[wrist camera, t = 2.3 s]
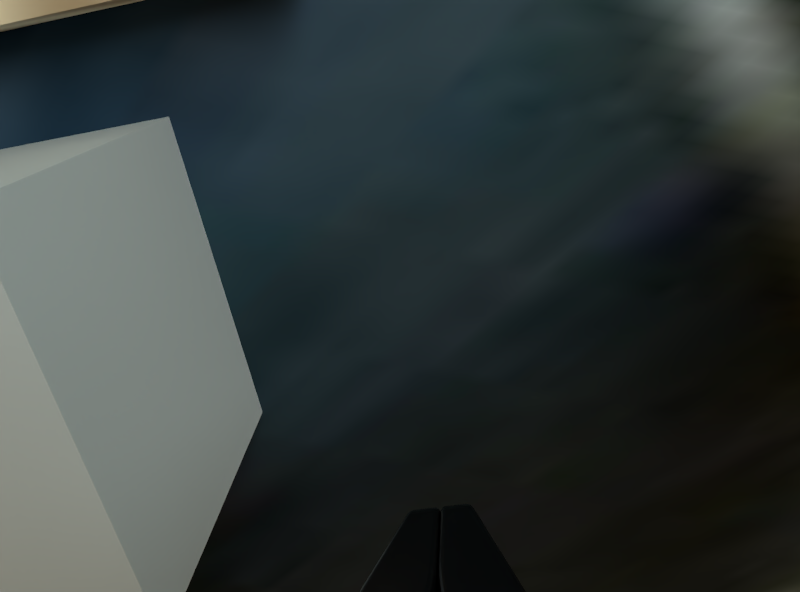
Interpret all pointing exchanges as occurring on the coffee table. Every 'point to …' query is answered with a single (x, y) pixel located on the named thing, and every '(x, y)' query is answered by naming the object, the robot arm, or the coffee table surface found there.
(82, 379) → the block
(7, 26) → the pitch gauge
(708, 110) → the coffee table surface
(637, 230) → the coffee table surface
